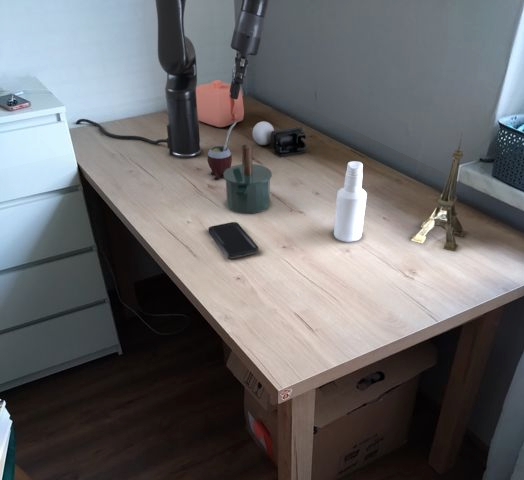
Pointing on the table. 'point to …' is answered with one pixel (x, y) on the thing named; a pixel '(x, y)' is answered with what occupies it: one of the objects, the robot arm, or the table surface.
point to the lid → (247, 171)
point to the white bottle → (350, 205)
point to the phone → (233, 240)
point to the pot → (248, 197)
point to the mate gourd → (220, 158)
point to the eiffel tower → (447, 201)
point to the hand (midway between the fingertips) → (233, 96)
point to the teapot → (218, 104)
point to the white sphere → (262, 133)
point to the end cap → (288, 141)
